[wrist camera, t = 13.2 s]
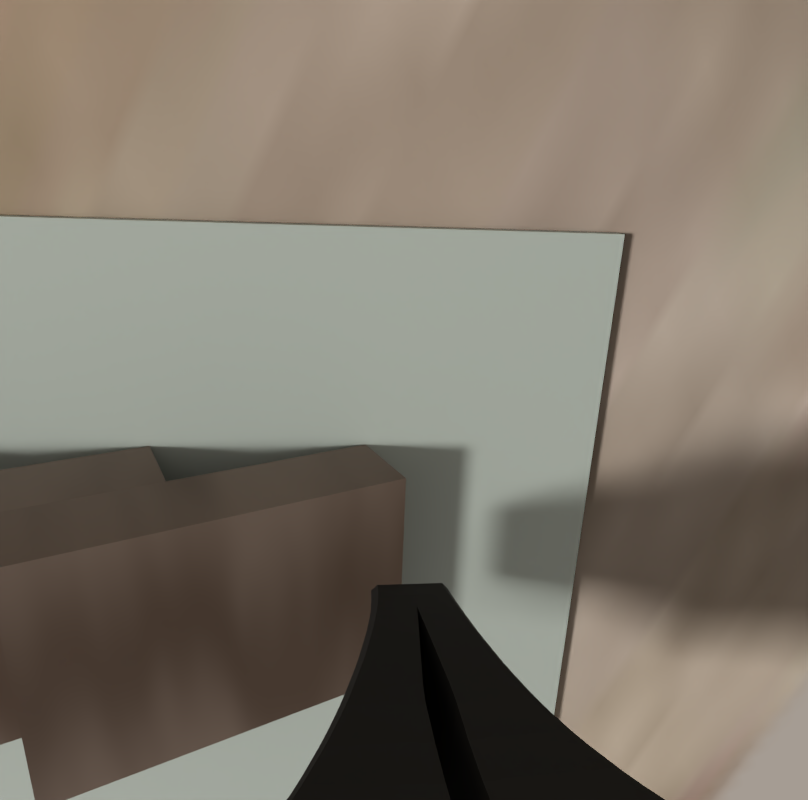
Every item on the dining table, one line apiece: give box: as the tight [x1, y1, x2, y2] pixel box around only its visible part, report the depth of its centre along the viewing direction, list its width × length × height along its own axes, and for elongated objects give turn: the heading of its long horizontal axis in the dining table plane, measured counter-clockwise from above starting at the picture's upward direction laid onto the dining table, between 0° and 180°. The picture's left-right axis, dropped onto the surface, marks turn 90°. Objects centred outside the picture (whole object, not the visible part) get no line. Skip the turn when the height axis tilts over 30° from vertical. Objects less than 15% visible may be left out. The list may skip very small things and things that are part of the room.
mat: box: [0, 215, 625, 800], centre depth 15 cm, size 16×26×1 cm, turn 88°
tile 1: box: [0, 444, 406, 800], centre depth 13 cm, size 5×2×7 cm
